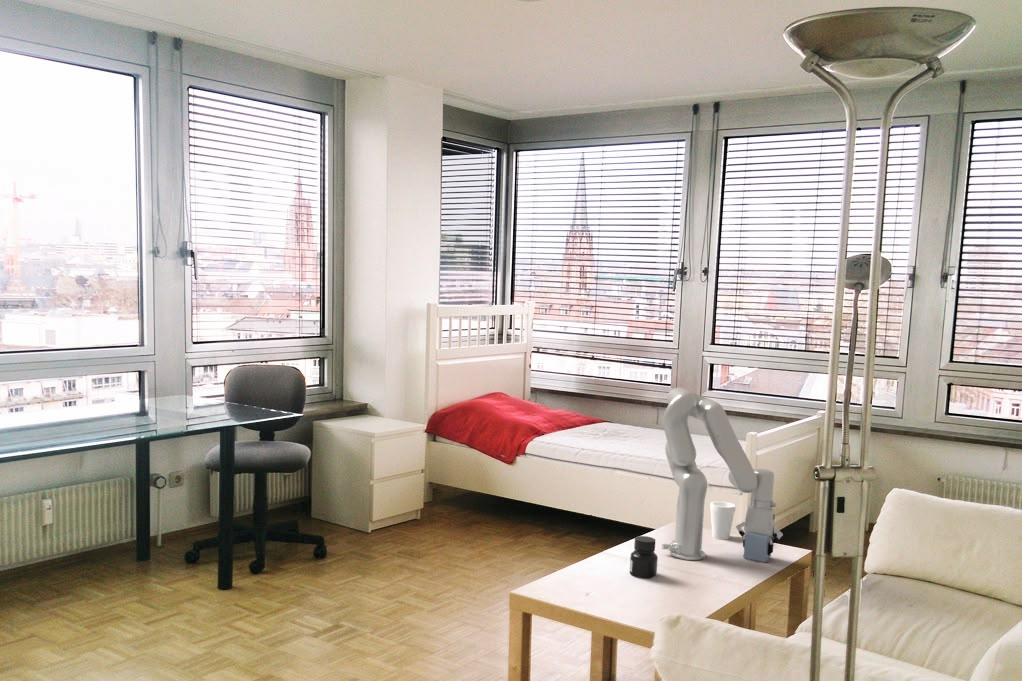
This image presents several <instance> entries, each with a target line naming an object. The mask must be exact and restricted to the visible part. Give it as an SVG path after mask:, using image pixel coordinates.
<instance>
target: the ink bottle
mask: <svg viewBox="0 0 1022 681" xmlns="http://www.w3.org/2000/svg"><path fill="white" fill-rule="evenodd" d="M633 547H634V550H633V551H631V554H630V557H629V558H630V560H629V574H630V575H632V576H633V577H636V578H641V579H652V578H654V577H657V573H658V555H657V554H656V553H655V551H656V550H655V549H656V539H655V538H653V537H650V536H646V535H638V536H636V537H634V545H633Z"/></svg>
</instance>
